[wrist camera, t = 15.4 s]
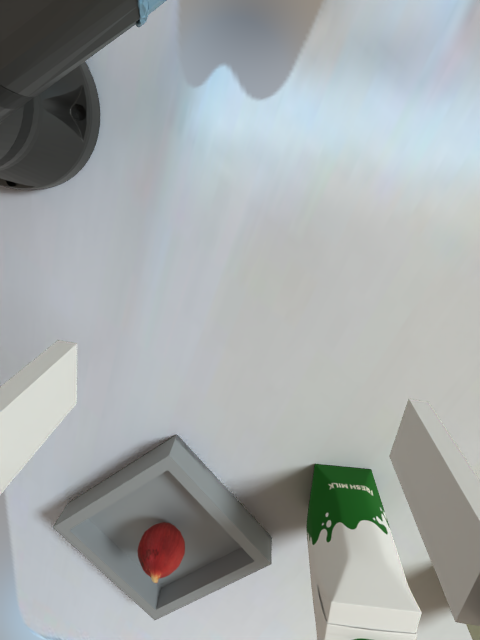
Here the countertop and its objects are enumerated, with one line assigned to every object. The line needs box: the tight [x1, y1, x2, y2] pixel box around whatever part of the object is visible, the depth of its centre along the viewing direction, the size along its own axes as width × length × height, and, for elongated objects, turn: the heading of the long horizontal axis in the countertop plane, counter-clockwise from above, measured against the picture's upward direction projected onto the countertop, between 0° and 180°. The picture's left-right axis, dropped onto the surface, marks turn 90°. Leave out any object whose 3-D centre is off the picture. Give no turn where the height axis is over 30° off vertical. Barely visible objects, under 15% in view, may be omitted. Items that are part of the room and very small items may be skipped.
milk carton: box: [307, 464, 422, 640], centre depth 43 cm, size 9×9×20 cm
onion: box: [138, 522, 185, 583], centre depth 52 cm, size 6×6×8 cm
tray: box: [53, 435, 272, 620], centre depth 55 cm, size 20×20×4 cm
